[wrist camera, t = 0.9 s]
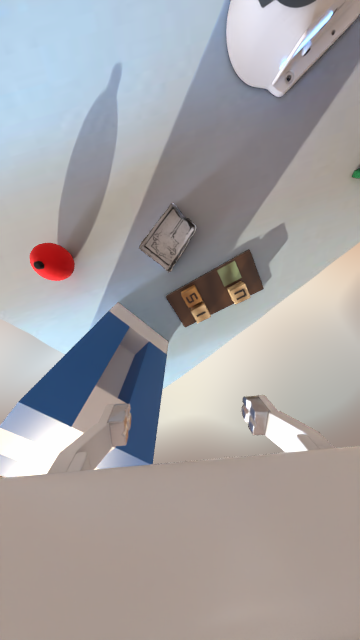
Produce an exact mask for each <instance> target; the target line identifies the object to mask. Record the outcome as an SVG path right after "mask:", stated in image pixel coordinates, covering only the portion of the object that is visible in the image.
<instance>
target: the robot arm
mask: <svg viewBox="0 0 360 640" xmlns="http://www.w3.org/2000/svg"><path fill="white" fill-rule="evenodd" d="M359 15H360V0H231V2H230V6H229V11H228V17H227V27H226V38H227V48H228V53H229V57H230V61H231V63H232V66H233V68H234V70H235V72H236V73H237V75H238V76H239V77H240V79H241V80H242V81H244V82H245V83H246V84H248V85H250V86H252V87H257V88H265V89H268V90H269V91H270V92H271V93H272V94H273V95H275V96H276V97H282V96H283V95H284V94H285V93H286V92H287V91H288V90H289V89H290V88H291V87H292V86H293V85H294V84H295V83H296V82H297V81H298V80H299V79H300V78H301V77H302V75H303V74H304V73H305V72H306V71H307V70H308V69H309V68H310V67H311V66H312V65H313V64H314V63H315V62H316V61H317V60H318V59H319V58H320V57H321V56H322V55H323V54H324V53H325V51H326V50H327V49H328V48H329V47H330V46H331V45H332V44H333V43H334V42H335V41H336V40H337V39H338V38H339V37H340V36H341V35H342V34H343V33H344V32H345V31H346V30H347V29H348V27H349V26H350V25H351V24H352V23H353V22H354V21H355V20H356V19H357V17H358V16H359ZM286 78H289V82H287V80H286ZM243 403H244V405H243V406H242V415H243V417H244V420H245V421H246V422H247V423H249V424H248V427H249V429H250V431H251V432H252V434H253V435H266V436H267V437H268V438H269V439H271V440H272V441H273V442H274V443H275V444H276V445H278V446H279V447H280V448H281V449H283V450H284V451H285V453H274V454H263V455H253V456H241V457H229V458H219V459H207V460H196V461H185V462H174V463H164V464H151V465H140V466H129V467H118V468H107V469H96V470H94V469H95V468H96V467H97V466H98V464H99V463H100V462H101V461H102V460H103V458H104V457H105V456H106V455H107V453H108V452H109V451H110V450H111V449H112V447H116V446H125V445H126V443H127V439H128V431H129V430H130V427H131V413H130V409H131V407H130V404H129V403H128V404H108V405H107V406H106V407H105V409H104V411H103V414H102V416H101V418H100V420H99V422H98V424H95V425H93V426H92V427H91V428H90V429H88V430H87V431H86V432H85V433H83V434H82V435H81V436H80V437H78V438H77V439H76V440H75V441H73V442H72V443H71V444H70V445H68V446H67V447H66V448H65V449H63V450H62V451H61V452H60V453H59V454H58V456H57V457H56V459H55V460H54V462H53V464H52V465H51V467H50V469H49V470H48V472H47V473H46V474H39V475H28V476H17V477H6V478H0V640H360V446H353V447H341V448H335V447H333V446H332V444H331V443H330V442H328V440H327V439H326V438H324V436H323V435H322V434H321V433H320V432H318V431H316V430H314V429H313V428H311V427H309V426H307V425H305V424H303V423H301V422H300V421H298V420H296V419H294V418H292V417H290V416H288V415H287V414H285V413H283V412H281V411H277V409H276V408H275V407H274V406H273V404H272V403H271V402H270V401H269V400H268V399H267V397H266V396H265V395H258V396H246V397H243Z"/></svg>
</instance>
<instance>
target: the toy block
mask: <svg viewBox="0 0 360 640" xmlns="http://www.w3.org/2000/svg"><path fill="white" fill-rule="evenodd" d="M167 349H168V341H167V340H166V339H164V338H163V337H162V336H160V335H159V334H158V333H157V332H155V331H154V330H153V329H152V328H150V327H149V326H148V325H146V324H145V323H144V322H143V321H141V320H140V319H139V318H138V317H136V316H135V315H134V314H133V313H131V312H130V311H129V310H127V309H126V308H125V307H124V306H122V305H121V304H120V303H119V302H117V303H116V304H115V305H114V306H113V307H112V308H111V309H110V310H109V311H108V312H107V313H106V314H105V315H104V316H103V317H102V318H101V319H100V320H99V322H98V323H97V324H96V325H95V326H94V327H93V328H92V329H91V330H90V331H89V332H88V333H87V334H86V335H85V336H84V337H83V338H82V339H81V340H80V341H79V342H78V343H77V344H76V345H75V346H74V347H73V348H72V349H71V350H70V351H69V352H68V353H67V354H66V355H65V356H64V357H63V358H62V359H61V360H60V361H59V362H58V363H57V364H56V365H55V366H54V367H53V368H52V369H51V370H50V371H49V372H48V373H47V374H46V375H45V376H44V377H43V378H42V379H41V380H40V381H39V382H38V383H37V384H36V385H35V386H34V387H33V388H32V389H31V390H30V391H29V392H28V393H27V394H26V395H25V396H24V397H23V398H22V399H21V400H20V401H19V402H18V403H17V404H16V406H15V407H14V408H13V409H12V411H11V412H10V413H9V415H8V416H7V417H6V418H5V420H4V421H3V422H2V424H1V425H0V475H1V476H4V477H17V476H28V475H39V474H46V473H47V472H48V470H49V469H50V467H51V465H52V464H53V462H54V460H55V459H56V457H57V456H58V454H59V453H60V452H61V451H62V450H63V449H65V448H66V447H67V446H68V445H70V444H71V443H72V442H73V441H75V440H76V439H77V438H78V437H80V436H81V435H82V434H83V433H85V432H86V431H87V430H88V429H90V428H91V427H92V426H93V425H95V424H98V422H99V420H100V418H101V416H102V414H103V411H104V409H105V407H106V406H107V405H108V404H128V403H129V404H130V407H131V409H130V413H131V427H130V430H129V431H128V439H127V443H126V445H125V446H116V447H112V449H111V450H110V451H109V452H108V453H107V455H106V456H105V457H104V458H103V460H102V461H101V462H100V463H99V464H98V466H97V467H96V468H95V469H94V470H96V469H107V468H118V467H129V466H140V465H151V464H153V456H154V449H155V441H156V433H157V426H158V418H159V411H160V410H159V409H160V403H161V395H162V388H163V380H164V372H165V365H166V357H167Z"/></svg>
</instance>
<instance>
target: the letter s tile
mask: <svg viewBox="0 0 360 640" xmlns="http://www.w3.org/2000/svg"><path fill="white" fill-rule="evenodd" d="M181 296H182V297H183V299H184V301H185V303H186V304H187V306H188V308H190V307H192V306H194V305H195V304H197V303H199V302H201V301H202V298H201V296H200V294H199V292H198V290H197V288H196V286H195V285H193V286H191V287H189V288H187V289H186V290H184V291H182V292H181Z"/></svg>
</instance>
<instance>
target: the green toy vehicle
mask: <svg viewBox="0 0 360 640" xmlns="http://www.w3.org/2000/svg"><path fill="white" fill-rule="evenodd" d="M352 177H354V178H360V169H358V170H355V171H354V173H353V175H352Z"/></svg>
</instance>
